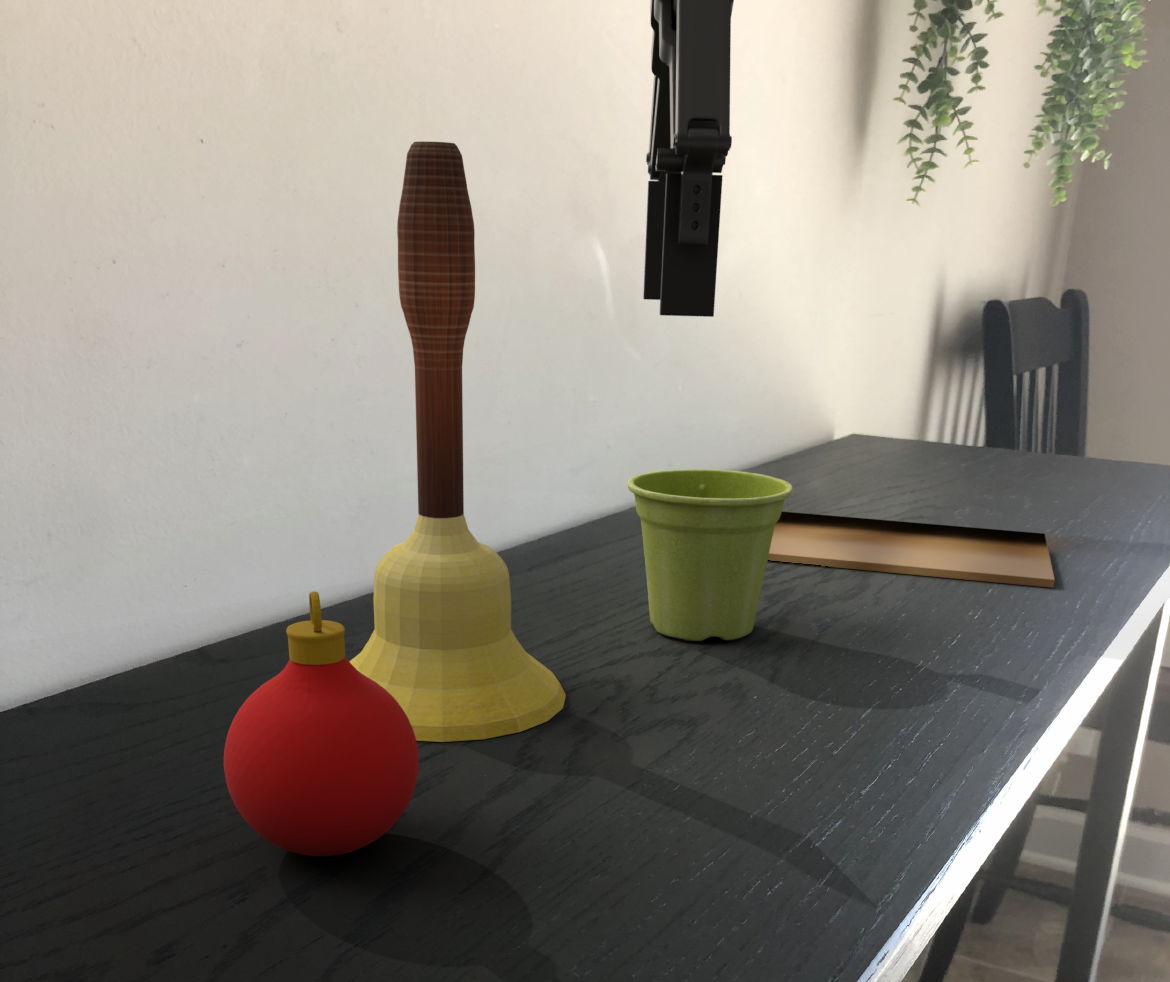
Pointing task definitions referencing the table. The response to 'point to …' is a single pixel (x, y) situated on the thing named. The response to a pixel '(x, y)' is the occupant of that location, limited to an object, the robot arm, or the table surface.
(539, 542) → the table surface
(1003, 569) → the wooden board
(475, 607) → the handbell
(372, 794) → the christmas ornament
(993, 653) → the table surface
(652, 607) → the plant pot
